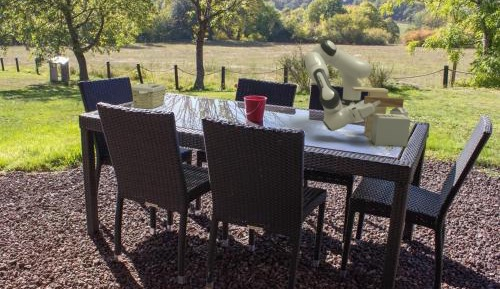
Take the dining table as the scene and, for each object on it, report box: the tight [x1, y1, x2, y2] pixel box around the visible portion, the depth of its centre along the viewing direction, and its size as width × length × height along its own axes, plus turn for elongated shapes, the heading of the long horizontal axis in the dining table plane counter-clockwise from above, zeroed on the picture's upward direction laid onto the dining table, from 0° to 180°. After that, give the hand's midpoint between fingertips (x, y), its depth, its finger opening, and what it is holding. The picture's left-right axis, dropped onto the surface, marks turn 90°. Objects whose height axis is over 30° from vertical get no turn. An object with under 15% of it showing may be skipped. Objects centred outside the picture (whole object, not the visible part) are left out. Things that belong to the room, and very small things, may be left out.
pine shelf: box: [352, 86, 389, 138], centre depth 257 cm, size 9×18×26 cm, turn 87°
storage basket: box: [131, 82, 166, 110], centre depth 322 cm, size 24×16×15 cm
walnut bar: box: [363, 95, 405, 108], centre depth 238 cm, size 4×19×4 cm, turn 87°
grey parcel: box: [370, 114, 411, 147], centre depth 242 cm, size 12×16×14 cm
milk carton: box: [389, 105, 409, 118], centre depth 253 cm, size 7×7×19 cm
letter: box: [376, 113, 409, 119], centre depth 240 cm, size 11×14×1 cm
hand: (378, 100), depth 238 cm, fingers closed on walnut bar, 4 cm apart
